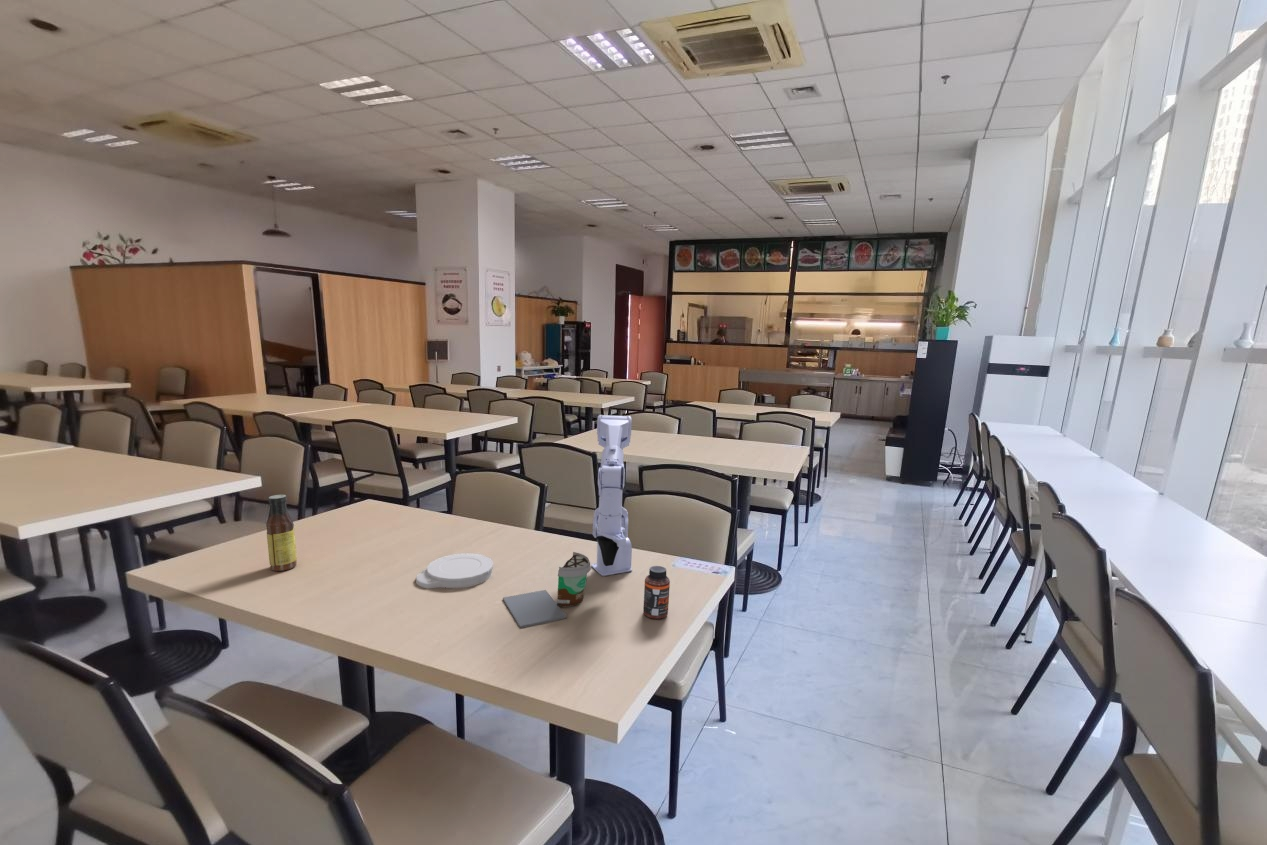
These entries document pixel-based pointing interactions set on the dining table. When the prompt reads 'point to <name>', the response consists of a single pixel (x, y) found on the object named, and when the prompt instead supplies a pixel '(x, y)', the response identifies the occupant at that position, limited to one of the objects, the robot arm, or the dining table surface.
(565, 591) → the food container
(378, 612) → the dining table surface
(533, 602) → the mat
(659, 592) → the supplement bottle
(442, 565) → the lid
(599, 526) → the robot arm
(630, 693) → the dining table surface
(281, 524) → the sauce bottle
